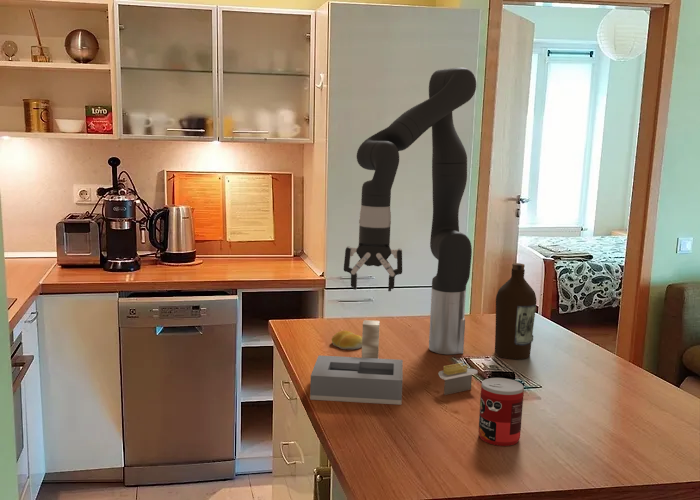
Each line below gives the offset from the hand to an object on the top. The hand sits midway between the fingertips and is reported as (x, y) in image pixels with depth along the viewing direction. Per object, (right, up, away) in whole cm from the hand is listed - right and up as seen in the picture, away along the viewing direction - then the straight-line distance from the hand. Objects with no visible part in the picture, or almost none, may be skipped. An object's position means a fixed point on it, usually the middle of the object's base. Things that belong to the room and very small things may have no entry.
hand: (372, 289), depth 166 cm
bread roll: (-6, -17, +23) cm, 29 cm away
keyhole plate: (-4, -22, -11) cm, 25 cm away
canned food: (+24, -27, -34) cm, 50 cm away
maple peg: (-1, -20, +3) cm, 20 cm away
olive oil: (+39, -19, +18) cm, 47 cm away
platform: (+19, -23, -10) cm, 32 cm away
